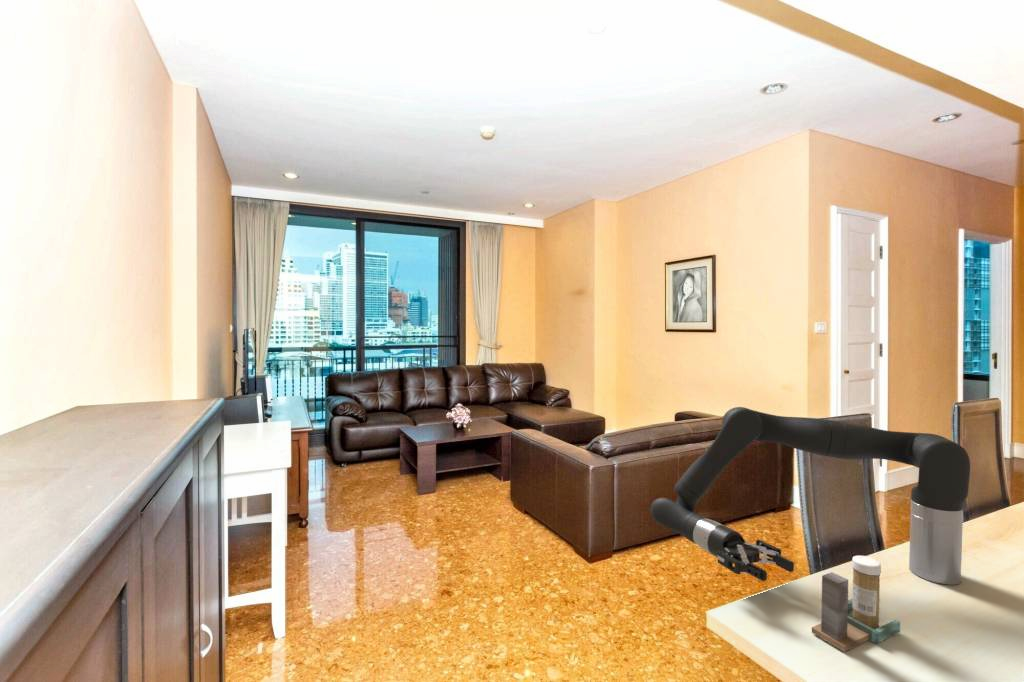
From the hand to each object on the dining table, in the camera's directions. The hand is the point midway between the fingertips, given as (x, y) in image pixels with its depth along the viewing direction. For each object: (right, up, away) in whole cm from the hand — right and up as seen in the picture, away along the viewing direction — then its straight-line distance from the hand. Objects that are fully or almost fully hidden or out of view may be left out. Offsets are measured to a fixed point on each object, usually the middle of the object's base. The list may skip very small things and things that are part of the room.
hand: (779, 572), depth 100 cm
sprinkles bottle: (+14, -8, -6) cm, 17 cm away
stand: (+10, -8, -7) cm, 15 cm away
